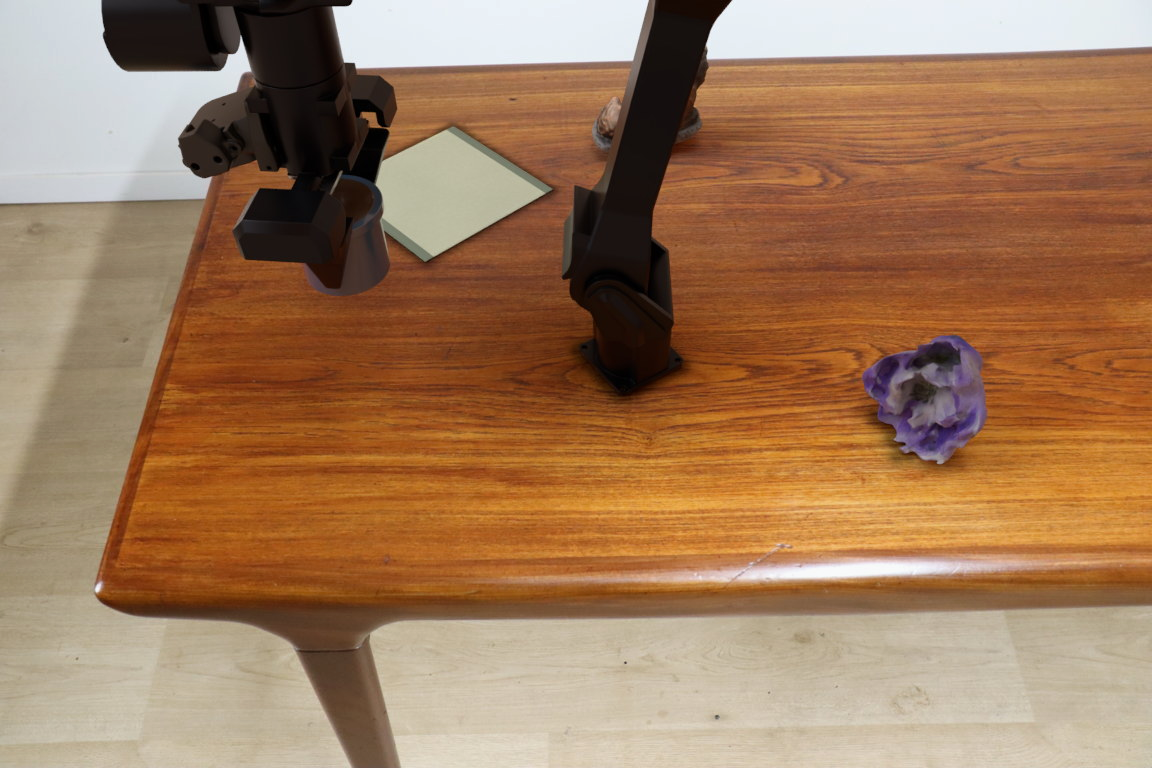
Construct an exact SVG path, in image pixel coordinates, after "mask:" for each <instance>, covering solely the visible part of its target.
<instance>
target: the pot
mask: <svg viewBox="0 0 1152 768" xmlns="http://www.w3.org/2000/svg"><path fill="white" fill-rule="evenodd" d="M332 196H333V197H335V198H336V199H337V200H339V201H340V202H341V203H343V207H344V211H345V215H346V217H354V223H353V229H352V234H351V239H350V244H349V249H348V255H347V260H346V265H345V271H344V275H343V280H342V285H341V287H340V288H339V289H329V288H326V287H325V286H324V285H323V284H322V283H321V281H320V280H319V279H318V278H317V277H316V275H315V274H314V273H313V272H312V271H311V269H310V268H309V267H308V266H307V265H306V264H305V263H301V266H302V269H303V273H304V277H305V279H306V281H307V283H308V284H309V286H310V287H311V288H312V289H313V290H315V291H317V292H319V293H321V294H324V295H327V296H333V297H349V296H355V295H358V294H362V293H365V292H367V291H369V290H371V289H373V288H375V287H376V286H378V285H379V284H381V282H383V281H384V279H385V278H386V277H387V275H388V274H389V271H390V269H391V259H390V254H389V250H388V244H387V240H386V234H385V231H384V229H383V224H382V220H381V218H382V215H383V212H384V202H383V197H382V193H381V191H380V190H379V188H378V187H377V186H376V185H375V184H374V183H372V182H371V181H369V180H367V179H364V178H362V177H358V176H353V175H341V176H340V179H339V181H338V183H337V185H336V187H335V190H334V192H333V194H332Z"/></svg>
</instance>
